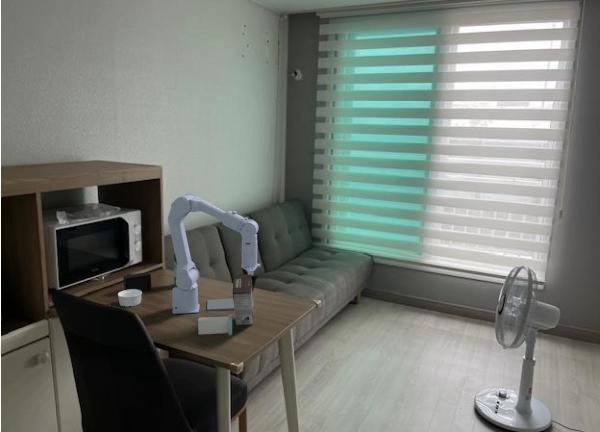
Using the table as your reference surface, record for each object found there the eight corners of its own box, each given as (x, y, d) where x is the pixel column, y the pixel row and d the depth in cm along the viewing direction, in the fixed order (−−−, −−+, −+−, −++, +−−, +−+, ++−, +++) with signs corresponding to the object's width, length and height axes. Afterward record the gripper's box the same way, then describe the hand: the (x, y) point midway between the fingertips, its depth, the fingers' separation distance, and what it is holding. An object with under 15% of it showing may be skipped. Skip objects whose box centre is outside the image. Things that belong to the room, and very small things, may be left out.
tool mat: (206, 310, 175) (206, 309, 175) (207, 301, 185) (207, 299, 185) (254, 308, 178) (254, 307, 178) (252, 299, 188) (252, 298, 187)
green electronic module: (174, 283, 204) (172, 251, 201) (187, 282, 206) (187, 250, 203) (175, 288, 198) (174, 254, 196) (189, 286, 201) (188, 253, 198)
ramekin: (119, 300, 184) (118, 290, 183) (142, 298, 186) (141, 288, 186) (117, 308, 176) (117, 297, 175) (142, 306, 178) (141, 295, 177)
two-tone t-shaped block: (198, 336, 153) (197, 322, 152) (199, 329, 159) (198, 315, 158) (232, 335, 155) (232, 321, 154) (231, 327, 161) (231, 314, 160)
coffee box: (236, 306, 170) (233, 274, 161) (254, 305, 171) (251, 273, 161) (235, 325, 163) (231, 292, 154) (253, 324, 163) (251, 291, 154)
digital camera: (148, 286, 200) (147, 270, 199) (151, 290, 196) (151, 274, 195) (123, 290, 195) (122, 274, 194) (126, 294, 190) (125, 278, 189)
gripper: (262, 258, 163) (261, 294, 166) (258, 247, 177) (258, 281, 180) (242, 258, 162) (242, 295, 164) (240, 248, 176) (240, 282, 178)
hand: (249, 288), depth 172 cm, fingers open, 7 cm apart
